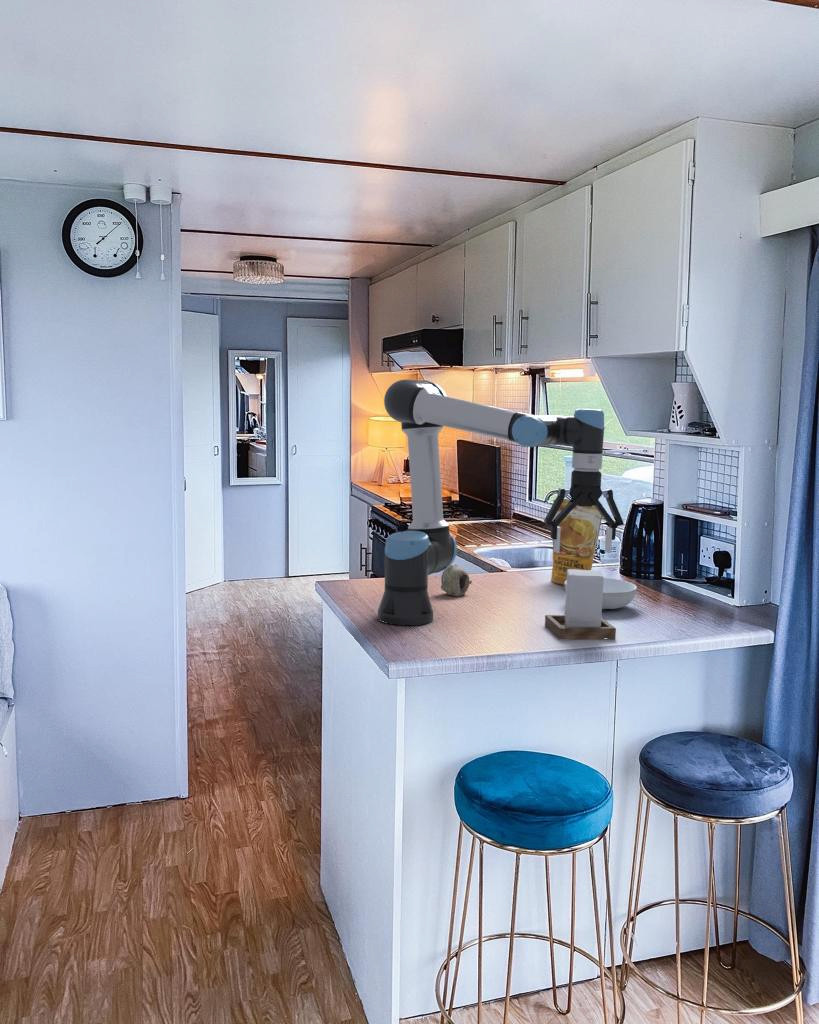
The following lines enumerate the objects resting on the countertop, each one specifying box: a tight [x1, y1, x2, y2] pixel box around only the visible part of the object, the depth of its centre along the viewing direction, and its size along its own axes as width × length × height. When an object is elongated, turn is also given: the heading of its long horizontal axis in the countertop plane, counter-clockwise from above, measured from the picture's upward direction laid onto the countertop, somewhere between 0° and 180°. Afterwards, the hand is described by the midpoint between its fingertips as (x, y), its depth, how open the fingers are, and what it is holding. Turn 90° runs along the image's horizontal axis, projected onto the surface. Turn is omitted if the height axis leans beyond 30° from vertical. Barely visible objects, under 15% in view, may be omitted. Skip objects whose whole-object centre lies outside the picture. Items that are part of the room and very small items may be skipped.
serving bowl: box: [564, 577, 638, 610], centre depth 254 cm, size 21×21×7 cm
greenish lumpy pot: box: [440, 564, 473, 597], centre depth 267 cm, size 9×8×10 cm
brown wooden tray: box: [544, 614, 617, 640], centre depth 225 cm, size 14×14×3 cm
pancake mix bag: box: [550, 498, 603, 586], centre depth 284 cm, size 7×19×28 cm, turn 39°
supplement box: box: [564, 569, 605, 627], centre depth 224 cm, size 9×9×15 cm
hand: (582, 552), depth 223 cm, fingers open, 13 cm apart
